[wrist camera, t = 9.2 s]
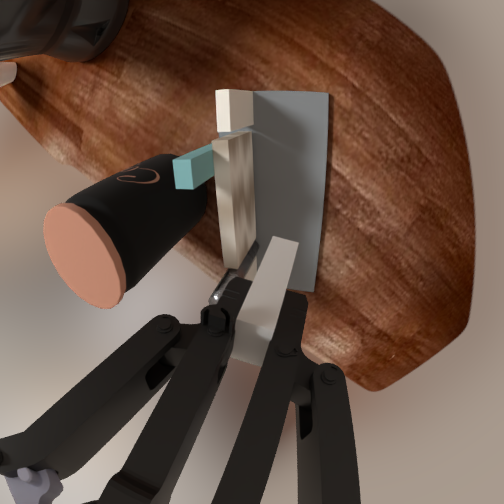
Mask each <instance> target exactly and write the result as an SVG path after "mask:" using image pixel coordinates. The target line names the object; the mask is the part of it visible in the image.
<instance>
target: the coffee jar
mask: <svg viewBox="0 0 504 504" xmlns="http://www.w3.org/2000/svg"><path fill="white" fill-rule="evenodd" d="M178 157H179V156H176V155H173V154H160V155H157V156H155V157H152V158H150V159H148V160H145V161H143V162H141V163H138V164H136V165H134V166H132V167H129V168H127V169H125V170H123V171H121V172H118V173H116V174H114V175H112V176H110V177H108V178H106V179H104V180H102V181H100V182H98V183H96V184H94V185H92V186H90V187H88V188H86V189H84V190H82V191H81V192H79V193H77V194H75V195H74V196H72V197H71V198H69V199H68V200H67V201H66V202H65V203H60V204H58V205H56V206H55V207H53V208H52V209H50V210H49V211H48V212H47V215H46V217H45V220H44V238H45V243H46V247H47V250H48V253H49V255H50V258H51V261H52V262H53V264H54V266H55V268H56V269H57V271H58V273H59V275H60V276H61V277H62V278H63V280H64V281H65V282H66V284H67V285H68V286H69V287H70V288H71V289H72V290H73V291H74V292H75V293H76V294H77V295H78V296H79V297H80V298H82V299H83V300H85V301H86V302H88V303H89V304H91V305H93V306H96V307H98V308H101V309H103V308H104V309H111V308H112V307H114V306H115V305H117V304H118V303H119V302H120V301H121V300H122V298H123V295H124V293H125V292H127V291H128V290H130V289H131V288H133V287H134V286H135V285H136V284H137V283H138V282H139V281H140V280H141V279H142V278H143V277H144V276H145V275H146V274H147V273H148V272H149V271H150V270H151V269H152V268H153V267H154V266H155V265H156V264H157V263H158V262H159V260H161V258H162V257H163V256H164V255H165V254H166V253H167V252H168V251H169V250H170V249H171V248H172V247H173V246H174V245H175V244H177V243H178V242H179V241H180V240H181V239H182V238H183V237H184V236H185V235H186V234H187V233H188V232H189V231H190V230H191V229H192V228H193V227H194V226H195V225H196V224H197V223H198V222H199V221H200V219H201V218H202V216H203V214H204V213H205V208H206V204H207V192H206V186H205V183H202V184H201V185H199V186H198V187H196V188H195V189H176V185H175V177H174V169H173V159H176V158H178Z"/></svg>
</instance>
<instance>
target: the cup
mask: <svg viewBox="0 0 504 504" xmlns="http://www.w3.org/2000/svg"><path fill="white" fill-rule="evenodd" d="M16 73H17V65H16V63H15V62H0V87H1V86H4V85H6V84H8V83H10V82H13V81H14V79H15V77H16Z"/></svg>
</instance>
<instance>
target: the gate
mask: <svg viewBox="0 0 504 504" xmlns="http://www.w3.org/2000/svg"><path fill="white" fill-rule="evenodd" d="M212 150H213V162H214V174H215V184H216V195H217V205H218V215H219V225H220V234H221V243H222V252H223V261H224V267H226V268H233V269H238V268H239V266H240V264H241V263H242V261H243V259H244V258H245V256H246V254H247V253H248V251H249V249H250V247H251V246H252V244H253V242H254V241H255V239H256V219H255V195H254V172H253V149H252V131H238V132H235V133H232V134H229V135H226V136H223V137H220V138H218V139H215V140H212Z"/></svg>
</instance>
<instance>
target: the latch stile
mask: <svg viewBox="0 0 504 504" xmlns="http://www.w3.org/2000/svg"><path fill="white" fill-rule="evenodd" d="M173 169H174V177H175V185H176V189H195V188H196V187H198V186H199V185H201V184H202V183H204V182H205V181H206V180H208V179H209V178H211V177H212V176H214V175H215V174H214V162H213V150H212V143H211V144H209V145H206V146H204V147H201V148H199V149H197V150H194V151H192V152H189V153H187V154H185V155H182V156H180V157H178V158H176V159H173Z"/></svg>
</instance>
